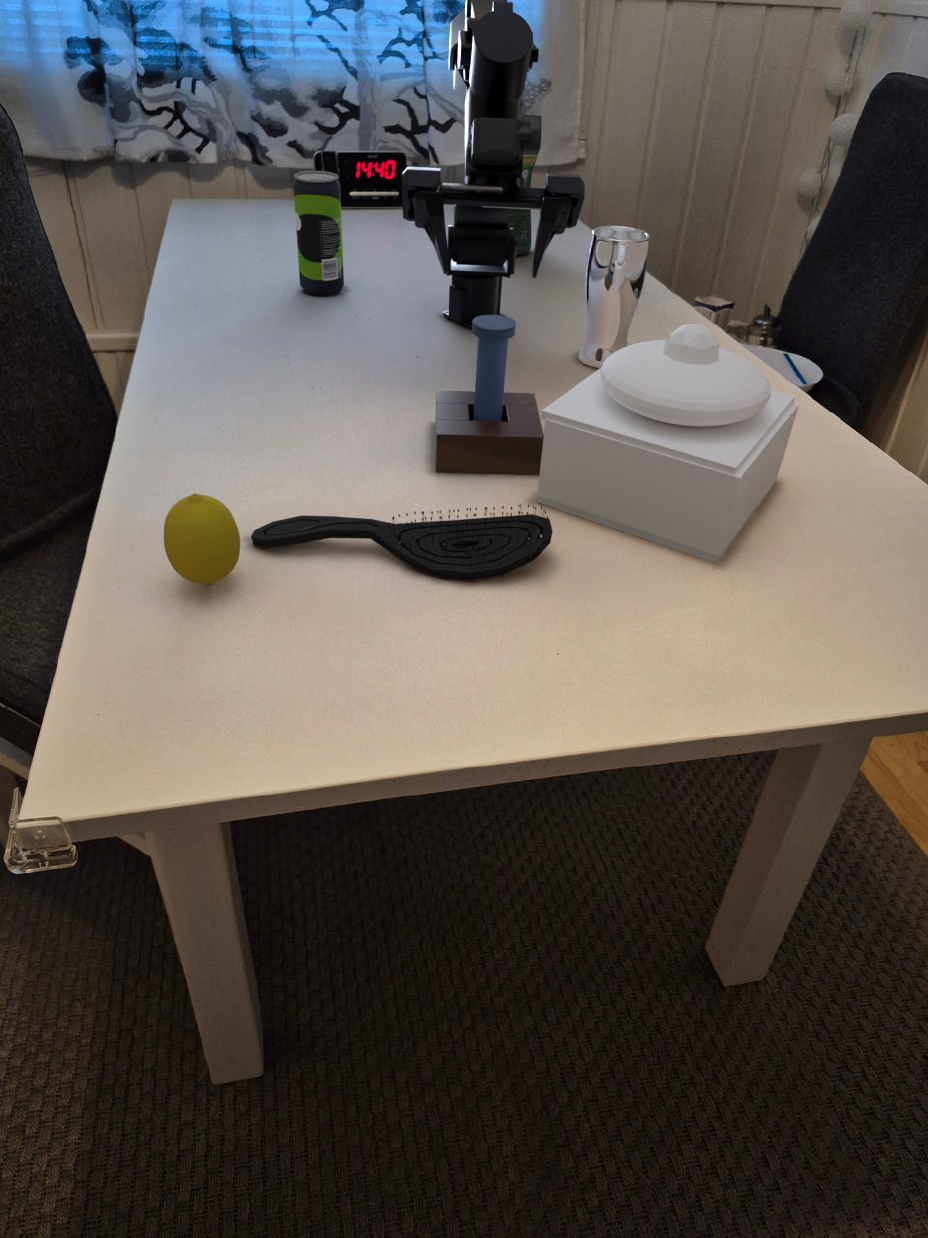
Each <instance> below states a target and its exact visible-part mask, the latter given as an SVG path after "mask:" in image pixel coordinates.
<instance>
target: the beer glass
mask: <svg viewBox="0 0 928 1238" xmlns="http://www.w3.org/2000/svg"><path fill="white" fill-rule="evenodd" d="M650 237H651V235H650V234H649V232H647V231H645V230H643V229H640V228H636V227H632V226H625V225H601V226H598V227H595V228H593V229H592V233H591V239H590V244H589V249H588V253H587V258H586V265H585V273H584V275H585V276H584V303H585V304H584V306H585V330H584V336H583V341H582V344H581V347H580V350H579V353H578V360H579V361H580V362H581V363H582V364H584V365H586V366H588V367H590V368H595V369H600V368H601V367H602V365H603V363H604V361H605V360H606V359H607V358H608V357H609V356H610V355H612V354H613V353H614V352H616V351H618V350H620V349H621V348H624V347H627V346H628V342H629V341H628V340H629V332H630V328H631V324H632V320H633V319H634V316H635V313H636V310H637V307H638V304H639V301H640V299H641V295H642V290H643V288H644V282H645V277H646V273H647V265H648V258H649V257H648V256H649V244H650Z"/></svg>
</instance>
